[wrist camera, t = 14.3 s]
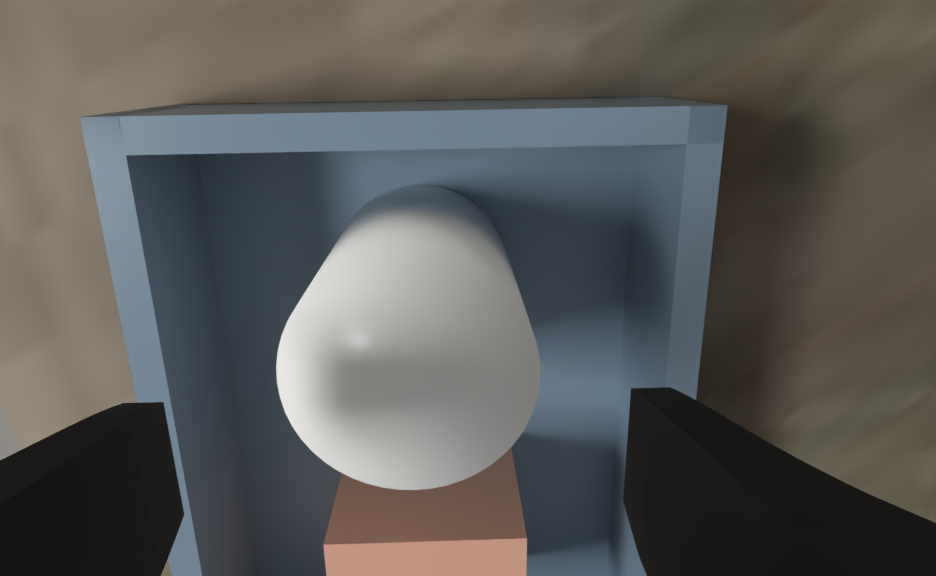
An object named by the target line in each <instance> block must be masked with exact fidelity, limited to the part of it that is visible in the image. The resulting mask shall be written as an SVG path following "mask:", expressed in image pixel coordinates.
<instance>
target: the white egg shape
mask: <svg viewBox="0 0 936 576" xmlns="http://www.w3.org/2000/svg"><path fill="white" fill-rule="evenodd" d="M276 374H277V385H278V390H279V396H280V399H281V402H282V405H283V408H284V411H285V413H286V415H287V417H288V419H289V421H290V423H291V425H292V427H293V428H294V430H295V431H296V433H297V434H298V436H299V437H300V438H301V440H302V441H303V442H304V443H305V444H306V445H307V446H308V448H309V449H310V450H311V451H312V452H313V453H314V454H316V455H317V456H318V457H319V458H320V459H321V460H323V461H324V462H325V463H327V464H328V465H330V466H331V467H333V468H334V469H336V470H337V471H339V472H341V473H343V474H345V475H347V476H349V477H351V478H353V479H356V480H358V481H361V482H364V483H366V484H370V485H374V486H378V487H382V488H389V489H397V490H422V489H432V488H437V487H442V486H447V485H450V484H453V483H456V482H459V481H462V480H464V479H467V478H469V477H471V476H473V475H475V474H477V473H479V472H481V471H482V470H484V469H485V468H487V467H489V466H490V465H492V464H493V463H494V462H495V461H497V460H498V459H499V458H500V457H502V456H503V455H504V454H505V453H506V452H507V451H508V450H509V449H510V448H511V447H512V446H513V444H514V443H515V442H516V440H517V439H518V438H519V437H520V435H521V434H522V433H523V431H524V429H525V427H526V425H527V424H528V422H529V420H530V418H531V415H532V413H533V410H534V408H535V405H536V401H537V397H538V393H539V387H540V377H541V370H540V357H539V352H538V347H537V342H536V339H535V336H534V333H533V330H532V327H531V324H530V321H529V318H528V315H527V312H526V309H525V306H524V303H523V300H522V297H521V294H520V291H519V288H518V285H517V282H516V279H515V276H514V273H513V270H512V267H511V264H510V261H509V258H508V255H507V252H506V249H505V246H504V243H503V241H502V238H501V235H500V234H499V232H498V230H497V228H496V226H495V225H494V223H493V222H492V220H491V219H490V217H489V216H488V215H487V214H486V213H485V212H484V211H483V210H482V209H481V208H480V207H479V206H477V205H476V204H475V203H474V202H472V201H471V200H469V199H468V198H466V197H465V196H463V195H461V194H458V193H456V192H454V191H451V190H448V189H445V188H442V187H436V186H430V185H413V186H405V187H400V188H396V189H393V190H390V191H388V192H385V193H383V194H381V195H379V196H377V197H375V198H374V199H372V200H371V201H370V202H368V203H367V204H365V205H364V206H363V207H362V208H361V209H360V210H359V211H358V212H357V213H356V214H355V215H354V217H353V218H352V219H351V220H350V222H349V223H348V225H347V227H346V228H345V230H344V231H343V233H342V235H341V236H340V238H339V239H338V241H337V242H336V244H335V246H334V247H333V249H332V250H331V252H330V253H329V255H328V257H327V258H326V260H325V261H324V263H323V265H322V266H321V268H320V269H319V271H318V272H317V274H316V276H315V277H314V279H313V280H312V282H311V283H310V285H309V287H308V288H307V290H306V291H305V293H304V295H303V296H302V298H301V299H300V301H299V302H298V304H297V306H296V307H295V309H294V311H293V312H292V314H291V316H290V317H289V319H288V321H287V323H286V326H285V328H284V330H283V333H282V335H281V339H280V343H279V347H278V353H277V363H276Z"/></svg>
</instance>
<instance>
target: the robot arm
mask: <svg viewBox="0 0 936 576" xmlns="http://www.w3.org/2000/svg"><path fill="white" fill-rule="evenodd" d="M623 502H624V505H625V509H626V513H627V516H628V520H629V524H630V527H631V531H632V534H633V538H634V541H635V545H636V548H637V551H638V555H639V558H640V560H641V563H642V565H643V568H644V570H645V572H646V575H647V576H936V523H935V522H932V521H930V520H927V519H925V518H923V517H920V516H918V515H916V514H913V513H911V512H909V511H906V510H904V509H902V508H899V507H897V506H895V505H892V504H890V503H888V502H885V501H883V500H881V499H878V498H876V497H874V496H872V495H869V494H867V493H865V492H863V491H861V490H859V489H857V488H855V487H852V486H850V485H848V484H846V483H844V482H842V481H840V480H838V479H836V478H834V477H832V476H830V475H828V474H826V473H824V472H823V471H821V470H819V469H817V468H815V467H813V466H811V465H809V464H807V463H805V462H803V461H801V460H799V459H797V458H796V457H794V456H792V455H790V454H788V453H786V452H785V451H783V450H781V449H779V448H777V447H776V446H774V445H772V444H770V443H768V442H767V441H765V440H763V439H761V438H760V437H758V436H756V435H754V434H753V433H751V432H749V431H748V430H746V429H744V428H742V427H741V426H739V425H737V424H736V423H734V422H732V421H731V420H729V419H727V418H725V417H724V416H722V415H720V414H719V413H717V412H715V411H714V410H712V409H710V408H708V407H707V406H705V405H703V404H702V403H700V402H698V401H696V400H695V399H693V398H691V397H689V396H687V395H685V394H684V393H682V392H680V391H677V390H675V389H673V388H671V387H660V388H631V395H630V409H629V423H628V437H627V451H626V465H625V479H624V493H623ZM183 517H184V510H183V505H182V499H181V494H180V488H179V483H178V478H177V472H176V467H175V462H174V456H173V451H172V445H171V440H170V435H169V429H168V424H167V418H166V413H165V408H164V402H149V403H123V404H120V405H117V406H114V407H111V408H109V409H106V410H104V411H101V412H99V413H97V414H94V415H92V416H90V417H88V418H86V419H84V420H81V421H79V422H77V423H75V424H73V425H71V426H69V427H67V428H65V429H63V430H61V431H59V432H57V433H55V434H53V435H51V436H49V437H47V438H45V439H43V440H41V441H39V442H37V443H35V444H33V445H31V446H29V447H27V448H25V449H23V450H21V451H19V452H17V453H15V454H13V455H11V456H9V457H7V458H5V459H2V460H0V576H161V574H162V571H163V569H164V566H165V564H166V561H167V559H168V557H169V554H170V552H171V549H172V547H173V544H174V541H175V539H176V536H177V533H178V530H179V528H180V525H181V522H182V520H183Z"/></svg>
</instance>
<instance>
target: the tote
mask: <svg viewBox="0 0 936 576" xmlns="http://www.w3.org/2000/svg"><path fill="white" fill-rule="evenodd" d="M727 107H728V105H721V104H713V103H705V102H698V101H690V100H682V99H674V98H666V97H658V96H638V97H582V98H526V99H469V100H413V101H357V102H301V103H244V104H188V105H169V106H161V107H154V108H146V109H138V110H131V111H123V112H115V113H108V114H100V115H92V116H85V117H80V120H81V125H82V130H83V135H84V140H85V145H86V150H87V155H88V160H89V165H90V170H91V175H92V180H93V185H94V190H95V195H96V200H97V205H98V210H99V215H100V220H101V225H102V230H103V235H104V240H105V245H106V250H107V255H108V260H109V265H110V270H111V275H112V280H113V285H114V290H115V295H116V300H117V305H118V310H119V315H120V320H121V325H122V330H123V335H124V340H125V345H126V350H127V355H128V360H129V365H130V370H131V375H132V380H133V385H134V390H135V395H136V400H137V403H149V402H164V408H165V413H166V418H167V424H168V429H169V435H170V440H171V445H172V451H173V456H174V462H175V467H176V472H177V478H178V483H179V488H180V494H181V499H182V505H183V510H184V517H183V520H182V522H181V525H180V528H179V530H178V533H177V536H176V539H175V541H174V544H173V547H172V549H171V552H170V554H169V557H168V560H169V565H170V570H171V575H172V576H326V566H325V556H324V546H323V544H324V540H325V536H326V533H327V529H328V525H329V521H330V517H331V513H332V509H333V505H334V502H335V498H336V494H337V490H338V486H339V482H340V478H341V474H342V473H341V472H339V471H337V470H336V469H334V468H333V467H331V466H330V465H328V464H327V463H325V462H324V461H323V460H321V459H320V458H319V457H318V456H317V455H316V454H314V453H313V452H312V451H311V450H310V449H309V448H308V446H307V445H306V444H305V443H304V442H303V441H302V440H301V438H300V437H299V436H298V434H297V433H296V431H295V430H294V428H293V427H292V425H291V423H290V421H289V419H288V417H287V415H286V413H285V411H284V408H283V405H282V402H281V399H280V396H279V390H278V385H277V374H276V363H277V353H278V347H279V343H280V339H281V335H282V333H283V330H284V328H285V326H286V323H287V321H288V319H289V317H290V316H291V314H292V312H293V311H294V309H295V307H296V306H297V304H298V302H299V301H300V299H301V298H302V296H303V295H304V293H305V291H306V290H307V288H308V287H309V285H310V283H311V282H312V280H313V279H314V277H315V276H316V274H317V272H318V271H319V269H320V268H321V266H322V265H323V263H324V261H325V260H326V258H327V257H328V255H329V253H330V252H331V250H332V249H333V247H334V246H335V244H336V242H337V241H338V239H339V238H340V236H341V235H342V233H343V231H344V230H345V228H346V227H347V225H348V223H349V222H350V220H351V219H352V218H353V217H354V215H355V214H356V213H357V212H358V211H359V210H360V209H361V208H362V207H363V206H364V205H365V204H367V203H368V202H370V201H371V200H372V199H374V198H375V197H377V196H379V195H381V194H383V193H385V192H388V191H390V190H393V189H396V188H400V187H405V186H413V185H430V186H436V187H442V188H445V189H448V190H451V191H454V192H456V193H458V194H461V195H463V196H465V197H466V198H468V199H469V200H471V201H472V202H474V203H475V204H476V205H477V206H479V207H480V208H481V209H482V210H483V211H484V212H485V213H486V214H487V215H488V216H489V217H490V219H491V220H492V222H493V223H494V225H495V226H496V228H497V230H498V232H499V234H500V235H501V238H502V241H503V243H504V246H505V249H506V252H507V255H508V258H509V261H510V264H511V267H512V270H513V273H514V276H515V279H516V282H517V285H518V288H519V291H520V294H521V297H522V300H523V303H524V306H525V309H526V312H527V315H528V318H529V321H530V324H531V327H532V330H533V333H534V336H535V339H536V342H537V347H538V352H539V357H540V370H541V377H540V387H539V393H538V397H537V401H536V405H535V408H534V410H533V413H532V415H531V418H530V420H529V422H528V424H527V425H526V427H525V429H524V431H523V433H522V434H521V435H520V437H519V438H518V439H517V440H516V442H515V443H514V444H513V446H512V447H511V448H512V454H513V460H514V466H515V471H516V477H517V483H518V489H519V494H520V500H521V506H522V512H523V518H524V523H525V529H526V535H527V567H526V576H647V575H646V572H645V570H644V568H643V565H642V563H641V560H640V558H639V555H638V551H637V548H636V545H635V541H634V538H633V534H632V531H631V527H630V524H629V520H628V516H627V513H626V509H625V505H624V502H623V493H624V479H625V465H626V451H627V437H628V423H629V409H630V395H631V388H660V387H671V388H673V389H675V390H677V391H680V392H682V393H684V394H685V395H687V396H689V397H691V398H693V399H695V400H696V395H697V385H698V376H699V367H700V358H701V348H702V339H703V330H704V321H705V311H706V302H707V293H708V283H709V274H710V265H711V256H712V246H713V237H714V228H715V218H716V209H717V200H718V191H719V181H720V172H721V163H722V154H723V144H724V135H725V126H726V116H727Z"/></svg>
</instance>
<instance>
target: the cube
mask: <svg viewBox="0 0 936 576" xmlns="http://www.w3.org/2000/svg"><path fill="white" fill-rule="evenodd" d="M323 546H324V556H325V566H326V576H526V567H527V535H526V529H525V523H524V518H523V512H522V506H521V500H520V494H519V489H518V483H517V477H516V471H515V466H514V460H513V454H512V448H510V449H509V450H508V451H507V452H506V453H505V454H504V455H503V456H502V457H500V458H499V459H498V460H497V461H495V462H494V463H493V464H492V465H490V466H489V467H487V468H485V469H484V470H482V471H481V472H479V473H477V474H475V475H473V476H471V477H469V478H467V479H464V480H462V481H459V482H456V483H453V484H450V485H447V486H442V487H437V488H432V489H422V490H397V489H389V488H382V487H378V486H374V485H370V484H366V483H364V482H361V481H358V480H356V479H353V478H351V477H349V476H347V475H345V474H343V473H342V474H341V478H340V482H339V486H338V490H337V494H336V498H335V502H334V505H333V509H332V513H331V517H330V521H329V525H328V529H327V533H326V536H325V540H324V544H323Z"/></svg>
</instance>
